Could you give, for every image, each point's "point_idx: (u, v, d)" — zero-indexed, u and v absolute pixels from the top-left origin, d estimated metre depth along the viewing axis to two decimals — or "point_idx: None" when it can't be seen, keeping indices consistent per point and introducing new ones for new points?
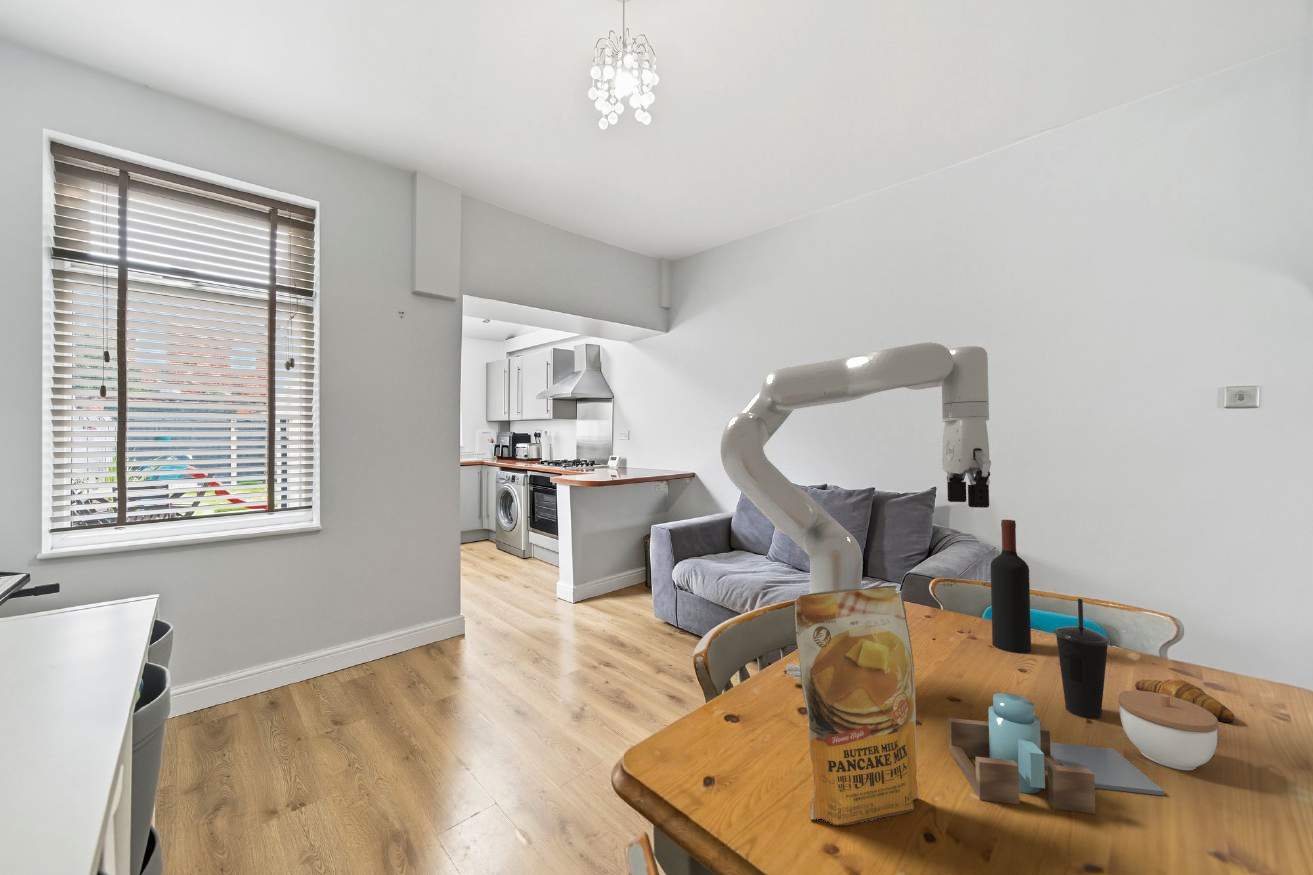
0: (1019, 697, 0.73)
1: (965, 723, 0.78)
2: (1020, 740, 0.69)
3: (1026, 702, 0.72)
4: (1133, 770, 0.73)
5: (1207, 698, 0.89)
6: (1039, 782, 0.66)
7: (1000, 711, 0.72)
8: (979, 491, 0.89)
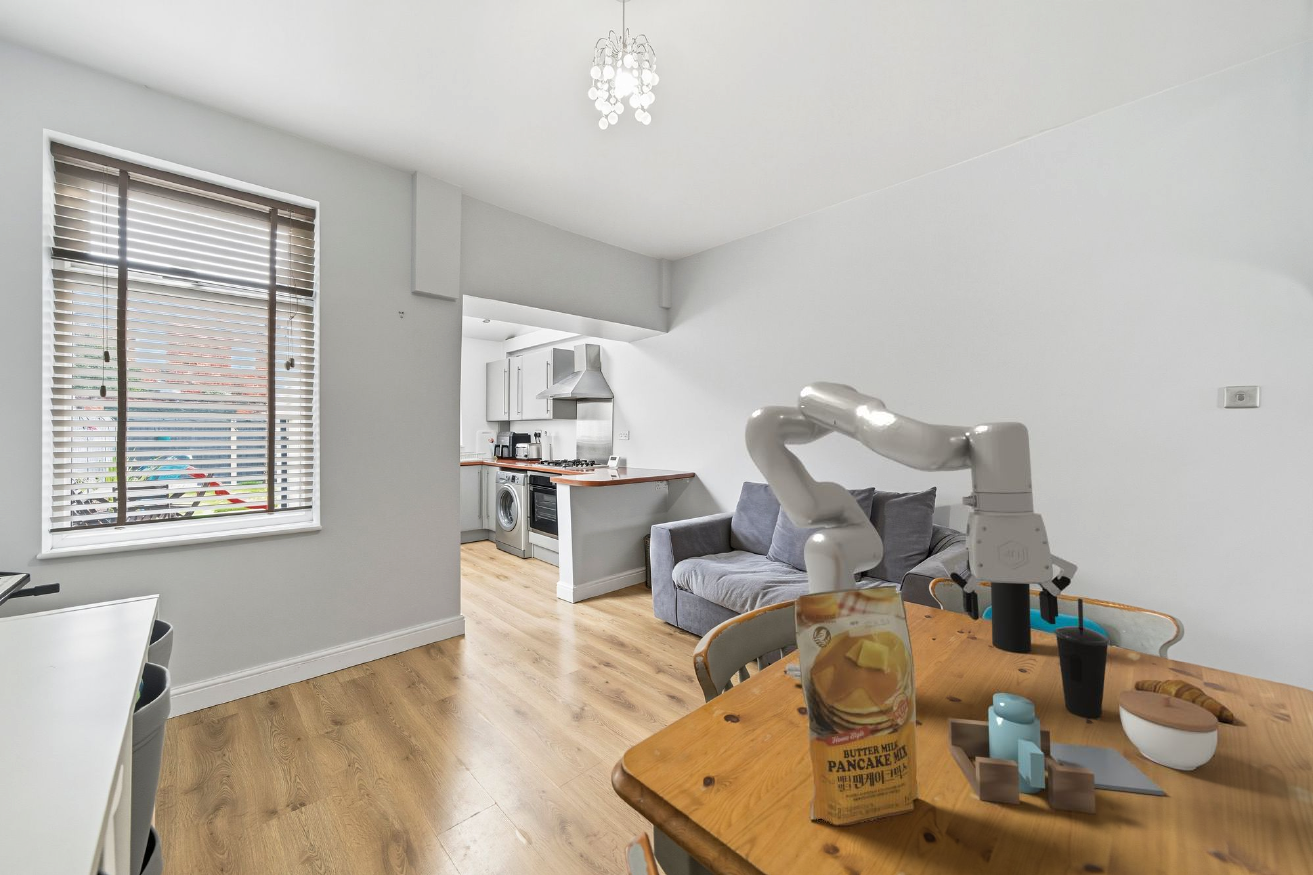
0: (1019, 697, 0.73)
1: (965, 723, 0.78)
2: (1020, 740, 0.69)
3: (1026, 702, 0.72)
4: (1133, 770, 0.73)
5: (1207, 698, 0.89)
6: (1039, 782, 0.66)
7: (1000, 711, 0.72)
8: (1053, 602, 0.74)
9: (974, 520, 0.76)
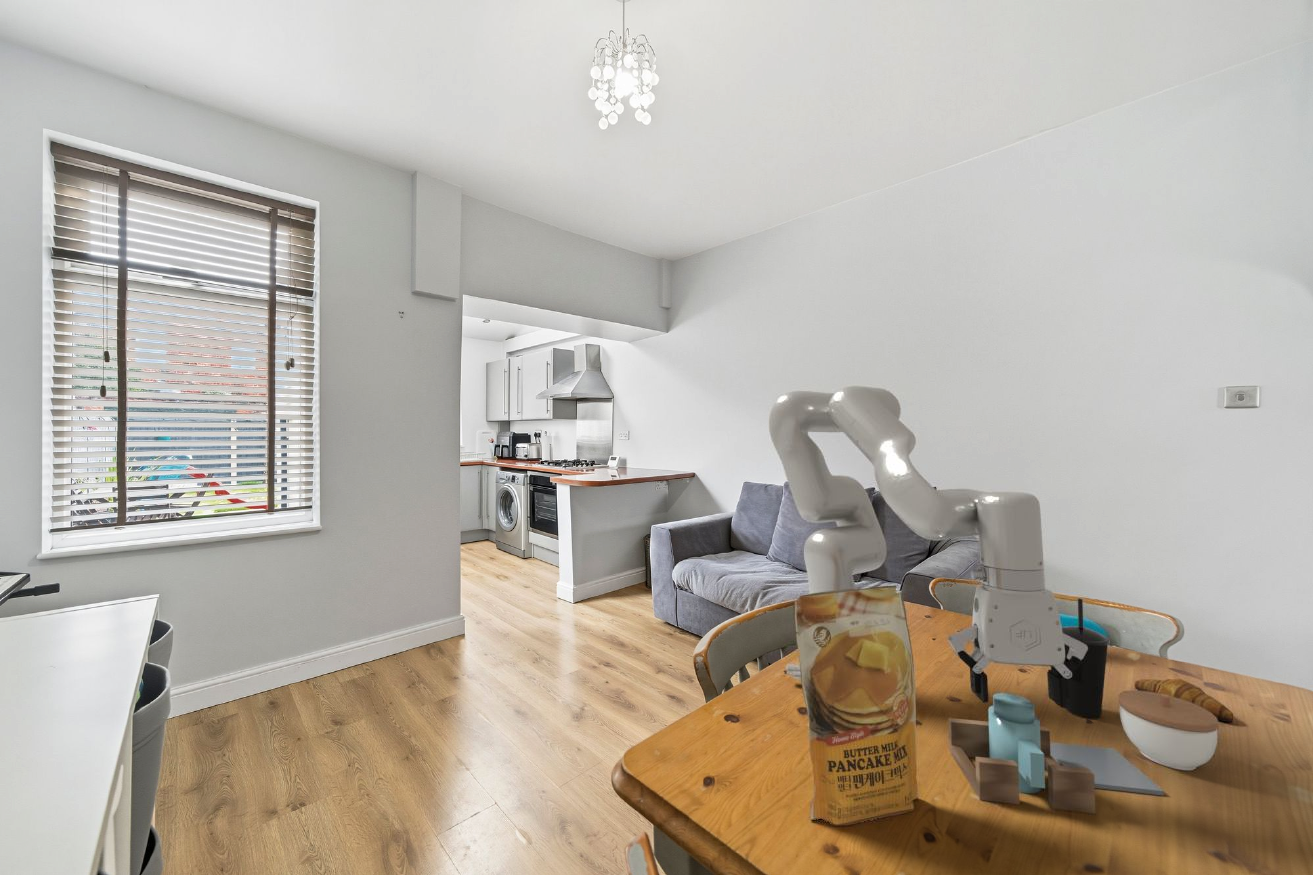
0: (1019, 697, 0.73)
1: (965, 723, 0.78)
2: (1020, 740, 0.69)
3: (1026, 701, 0.72)
4: (1133, 770, 0.73)
5: (1206, 698, 0.89)
6: (1039, 782, 0.66)
7: (1000, 711, 0.72)
8: None
9: (984, 597, 0.72)
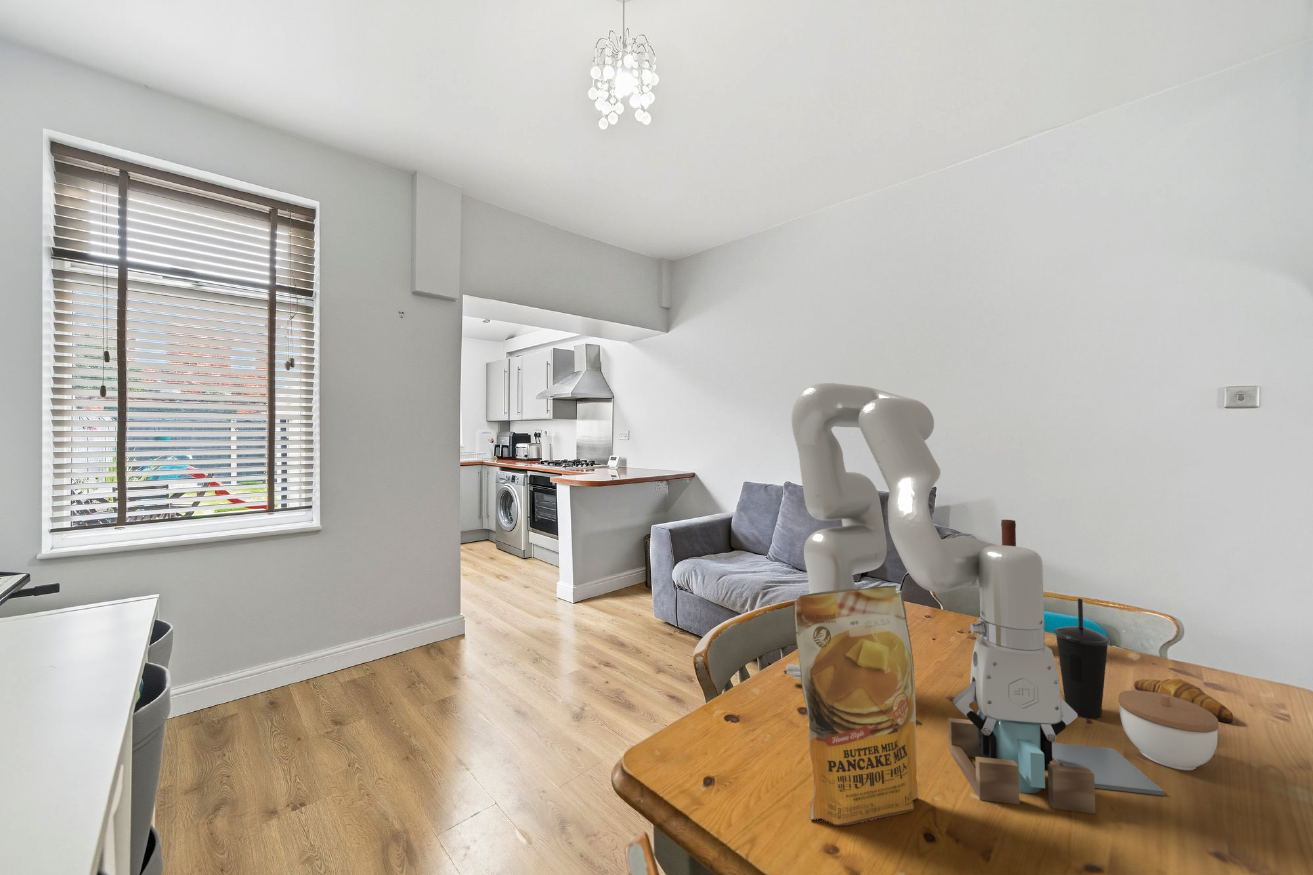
0: None
1: (965, 723, 0.78)
2: (1020, 740, 0.69)
3: None
4: (1133, 770, 0.73)
5: (1206, 698, 0.89)
6: (1039, 782, 0.66)
7: None
8: None
9: (984, 652, 0.72)
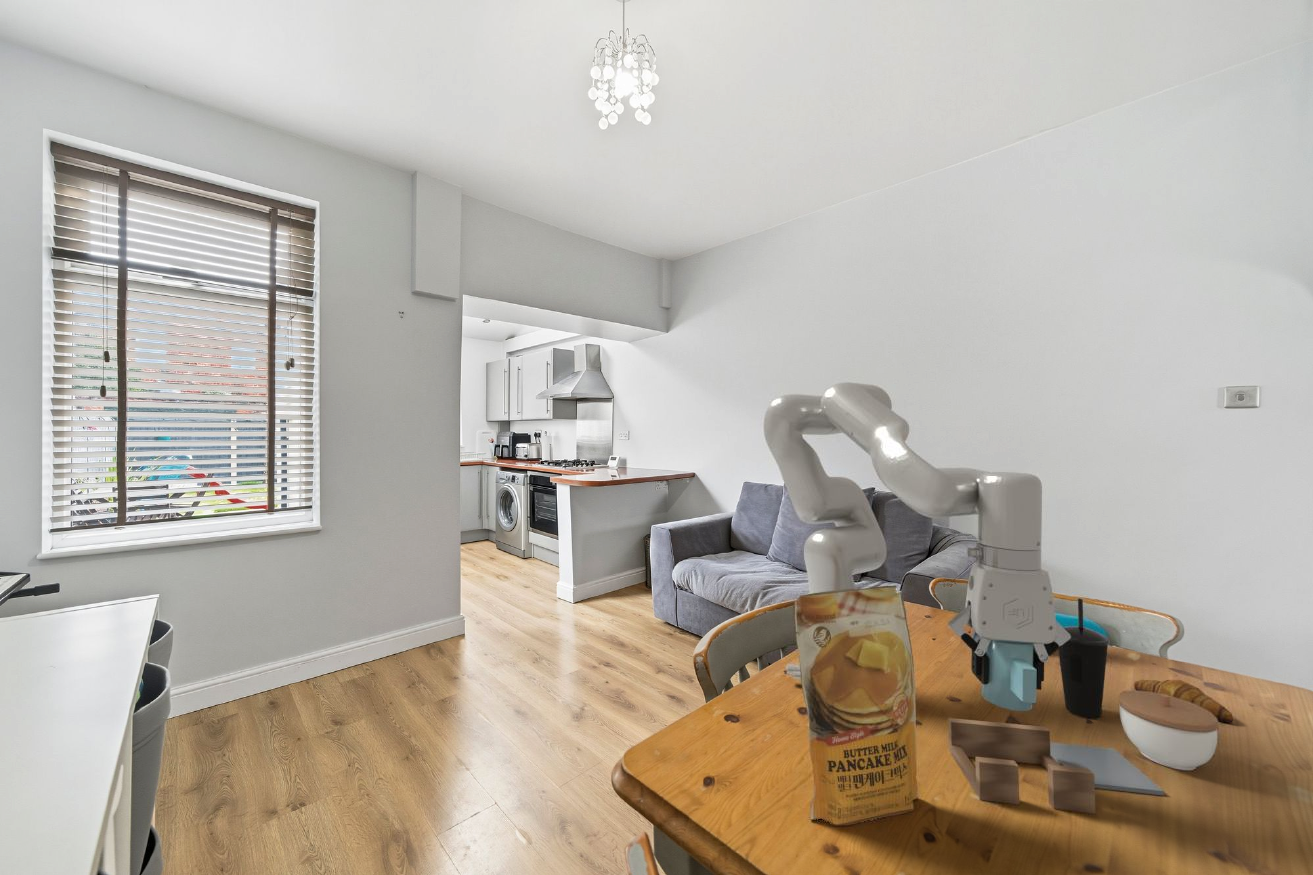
0: None
1: (965, 723, 0.78)
2: (1013, 659, 0.70)
3: None
4: (1133, 770, 0.73)
5: (1206, 698, 0.89)
6: (1030, 697, 0.67)
7: None
8: None
9: (980, 575, 0.72)
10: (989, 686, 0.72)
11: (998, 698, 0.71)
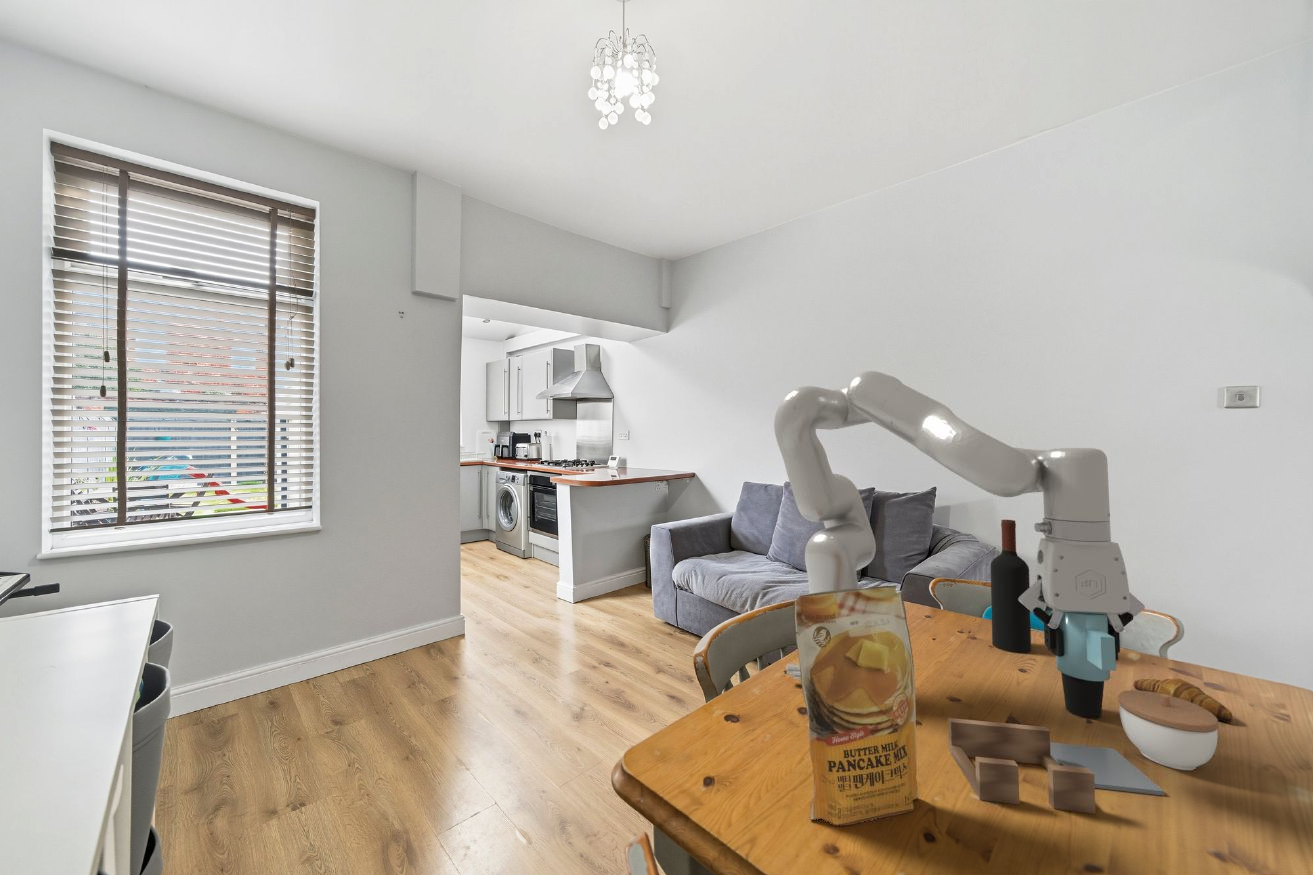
0: None
1: (965, 723, 0.78)
2: (1088, 629, 0.71)
3: None
4: (1133, 770, 0.73)
5: (1205, 697, 0.89)
6: (1110, 665, 0.68)
7: None
8: None
9: (1050, 548, 0.74)
10: (1064, 658, 0.74)
11: (1075, 669, 0.72)
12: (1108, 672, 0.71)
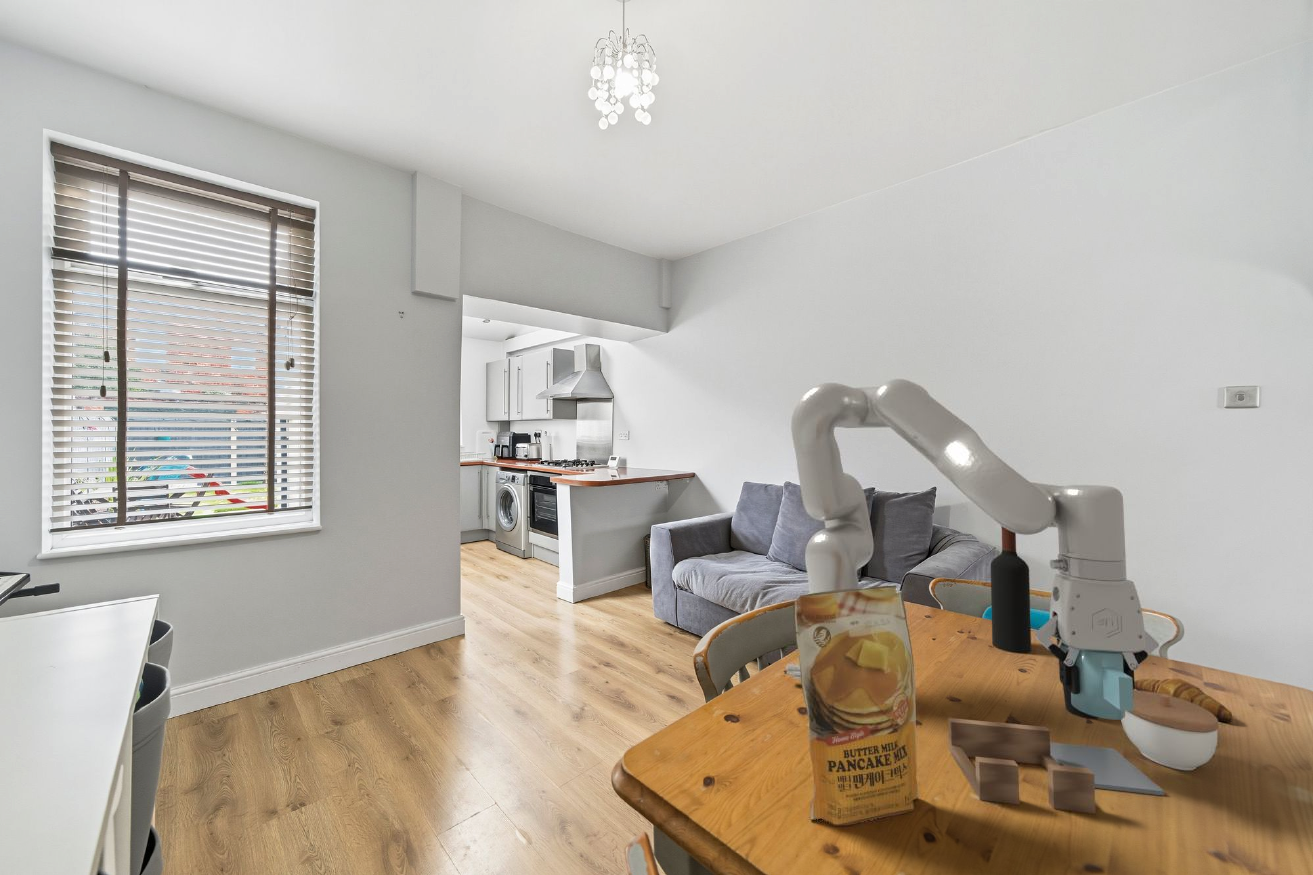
0: None
1: (965, 723, 0.78)
2: (1105, 668, 0.71)
3: None
4: (1133, 770, 0.73)
5: (1205, 697, 0.89)
6: (1128, 705, 0.68)
7: None
8: None
9: (1066, 586, 0.74)
10: (1080, 696, 0.74)
11: (1091, 707, 0.73)
12: (1124, 710, 0.72)
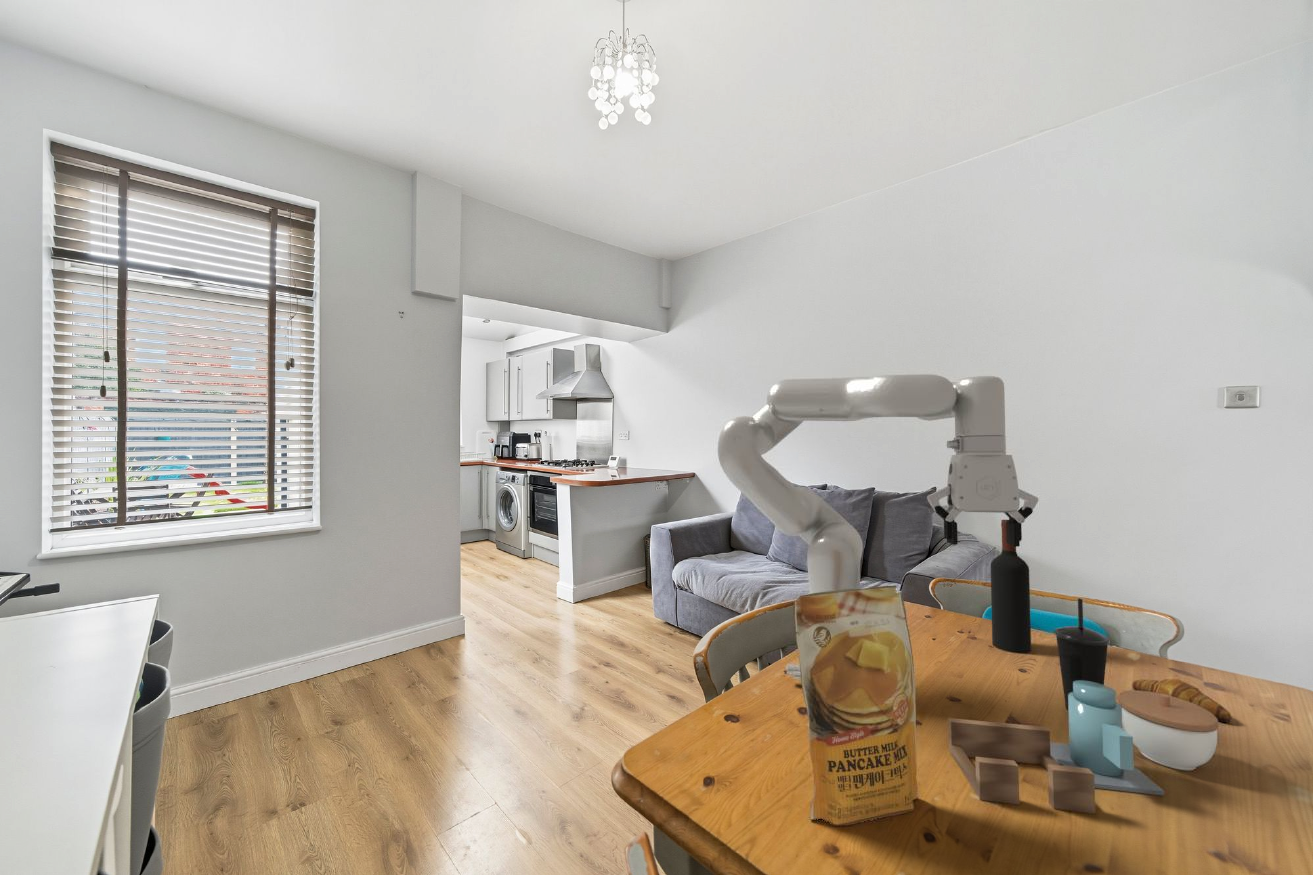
0: (1098, 684, 0.76)
1: (965, 723, 0.78)
2: (1105, 724, 0.72)
3: (1106, 688, 0.75)
4: (1133, 770, 0.73)
5: (1204, 698, 0.89)
6: (1128, 764, 0.68)
7: (1082, 697, 0.74)
8: None
9: (957, 460, 0.88)
10: (1079, 751, 0.74)
11: (1090, 763, 0.73)
12: None
